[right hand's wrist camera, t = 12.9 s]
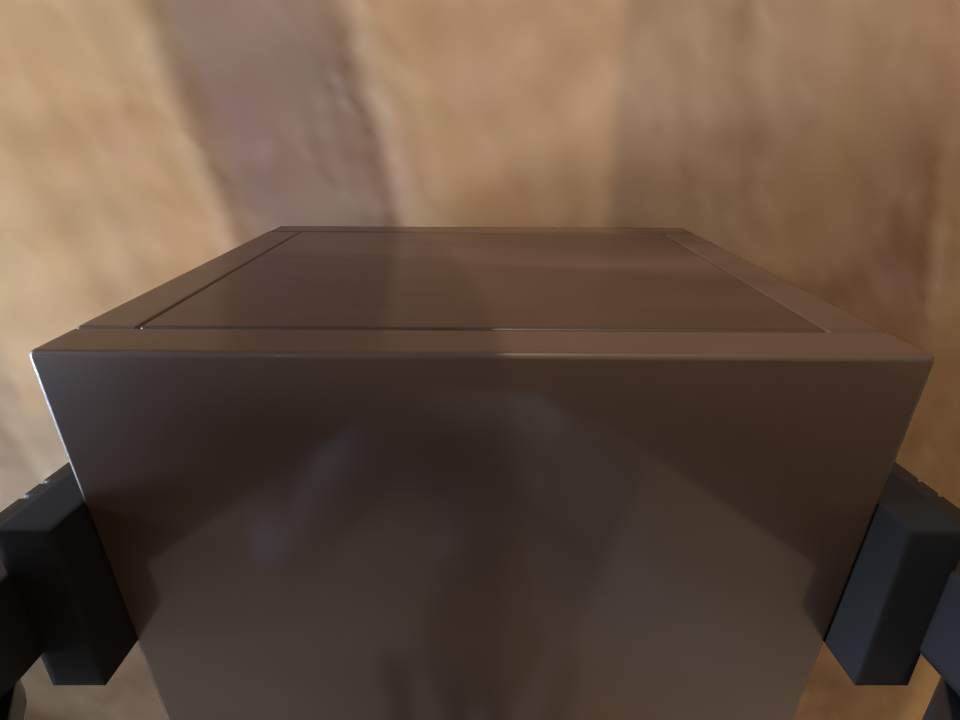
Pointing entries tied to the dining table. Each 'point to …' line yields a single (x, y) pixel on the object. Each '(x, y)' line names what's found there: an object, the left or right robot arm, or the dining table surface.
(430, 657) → the cabinet
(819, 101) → the dining table surface
